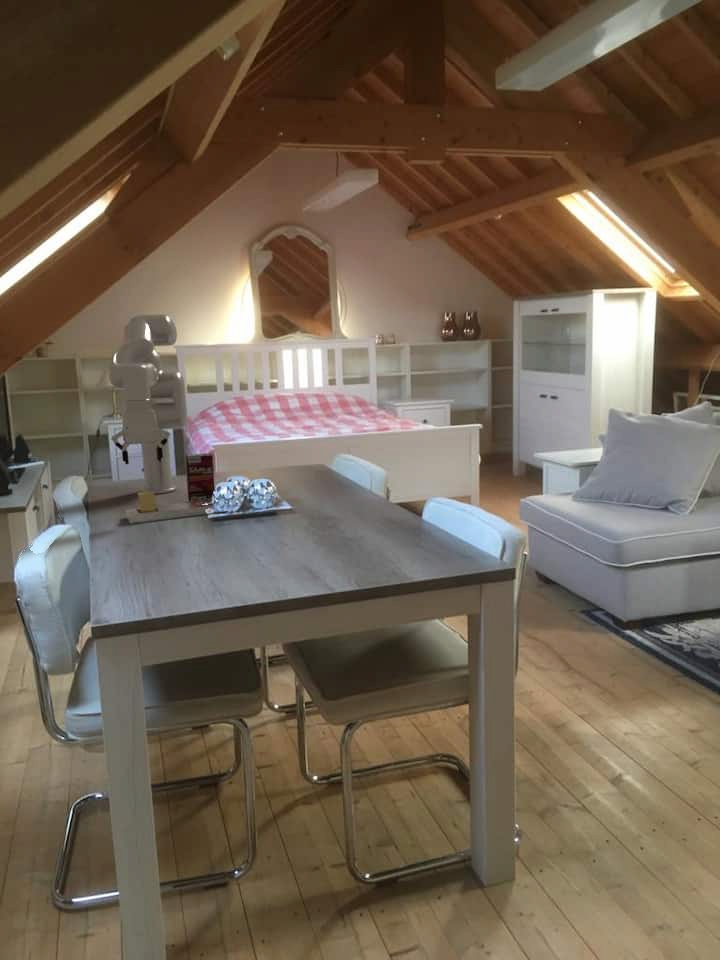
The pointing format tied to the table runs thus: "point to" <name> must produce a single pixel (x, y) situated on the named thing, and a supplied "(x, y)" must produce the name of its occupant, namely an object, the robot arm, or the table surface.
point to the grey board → (169, 511)
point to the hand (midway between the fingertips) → (143, 462)
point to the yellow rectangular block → (146, 501)
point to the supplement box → (200, 476)
